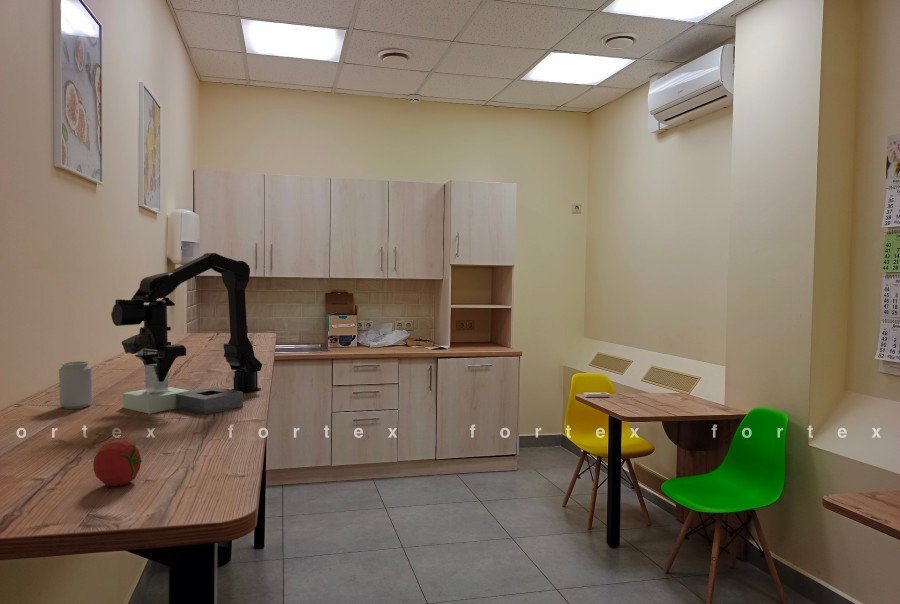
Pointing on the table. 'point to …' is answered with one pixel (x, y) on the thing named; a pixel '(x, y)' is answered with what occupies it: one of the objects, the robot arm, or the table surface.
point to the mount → (209, 400)
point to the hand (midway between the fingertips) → (156, 380)
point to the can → (75, 385)
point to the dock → (151, 400)
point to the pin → (154, 380)
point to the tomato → (117, 463)
